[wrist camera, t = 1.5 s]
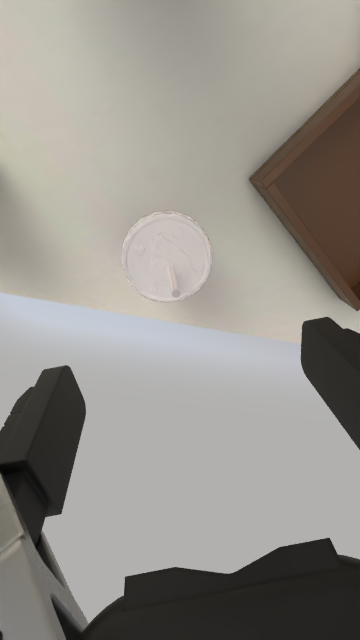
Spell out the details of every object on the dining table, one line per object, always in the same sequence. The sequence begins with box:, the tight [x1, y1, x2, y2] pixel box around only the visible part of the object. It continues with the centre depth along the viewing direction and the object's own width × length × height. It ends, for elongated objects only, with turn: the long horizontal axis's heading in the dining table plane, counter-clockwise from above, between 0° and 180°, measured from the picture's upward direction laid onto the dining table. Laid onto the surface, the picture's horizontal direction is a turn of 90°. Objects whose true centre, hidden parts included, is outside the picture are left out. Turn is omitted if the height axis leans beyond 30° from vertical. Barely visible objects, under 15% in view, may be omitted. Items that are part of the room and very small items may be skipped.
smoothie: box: [122, 211, 212, 302], centre depth 23 cm, size 6×6×14 cm
